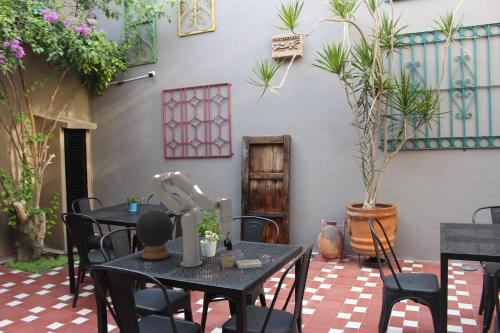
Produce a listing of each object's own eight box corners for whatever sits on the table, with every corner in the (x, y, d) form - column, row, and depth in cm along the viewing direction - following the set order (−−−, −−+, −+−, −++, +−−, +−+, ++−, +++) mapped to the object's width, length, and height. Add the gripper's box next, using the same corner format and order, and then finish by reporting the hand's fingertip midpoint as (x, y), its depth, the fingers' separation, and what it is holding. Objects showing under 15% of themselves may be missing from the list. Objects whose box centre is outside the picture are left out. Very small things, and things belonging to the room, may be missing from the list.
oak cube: (221, 264, 259) (221, 254, 259) (231, 264, 260) (231, 254, 260) (222, 267, 253) (222, 257, 253) (233, 266, 255) (232, 256, 254)
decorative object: (158, 263, 267) (156, 213, 265) (128, 259, 277) (127, 212, 276) (181, 254, 287) (179, 208, 286) (153, 251, 298) (151, 207, 297)
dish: (236, 264, 259) (236, 261, 259) (258, 262, 262) (257, 259, 261) (239, 268, 249) (239, 265, 249) (261, 267, 252) (261, 263, 252)
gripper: (218, 217, 264) (219, 246, 264) (221, 221, 247) (223, 252, 247) (230, 216, 265) (232, 245, 266) (235, 220, 248) (237, 251, 249)
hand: (228, 248), depth 256 cm, fingers open, 9 cm apart
